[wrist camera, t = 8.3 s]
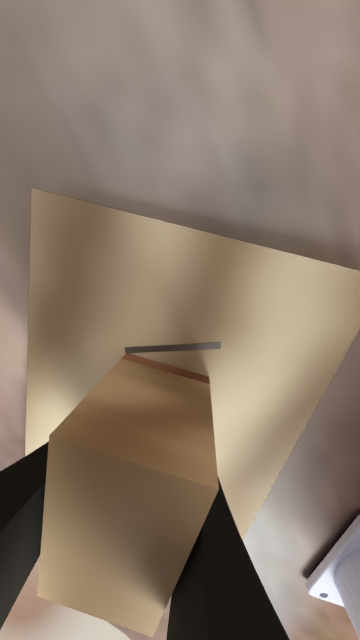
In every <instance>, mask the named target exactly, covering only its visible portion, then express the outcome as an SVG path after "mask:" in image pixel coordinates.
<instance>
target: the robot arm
mask: <svg viewBox="0 0 360 640" xmlns="http://www.w3.org/2000/svg"><path fill="white" fill-rule="evenodd" d="M48 444H49V441H48V442H47V443H45V444H44V445H42V446H41V447H39V448H37V449H36V450H34V451H33V452H31V453H30V454H28V455H27V456H25V457H23V458H22V459H20V460H19V461H17V462H15V463H14V464H12V465H10V466H9V467H7V468H5V469H4V470H2V471H0V629H1V627H2V626H3V624H4V622H5V620H6V618H7V616H8V614H9V612H10V610H11V608H12V606H13V605H14V603H15V601H16V599H17V597H18V595H19V593H20V591H21V589H22V587H23V586H24V584H25V582H26V580H27V578H28V576H29V574H30V572H31V570H32V569H33V567H34V565H35V563H36V561H37V559H38V557H39V556H40V552H41V538H42V525H43V511H44V498H45V485H46V471H47V458H48ZM218 485H219V490H218V492H217V495H216V497H215V499H214V501H213V503H212V506H211V508H210V510H209V512H208V515H207V517H206V519H205V521H204V524H203V526H202V528H201V530H200V532H199V535H198V537H197V539H196V541H195V544H194V546H193V548H192V550H191V552H190V555H189V557H188V559H187V561H186V564H185V566H184V568H183V570H182V573H181V575H180V577H179V579H178V581H177V584H176V586H175V588H174V590H173V593H172V596H171V605H170V614H169V622H168V631H167V640H289V638H288V636H287V634H286V632H285V630H284V628H283V626H282V624H281V622H280V620H279V618H278V616H277V614H276V612H275V610H274V608H273V606H272V604H271V602H270V600H269V598H268V596H267V594H266V591H265V589H264V587H263V585H262V583H261V581H260V579H259V576H258V574H257V572H256V570H255V568H254V566H253V563H252V561H251V559H250V557H249V554H248V552H247V550H246V548H245V545H244V543H243V541H242V538H241V536H240V533H239V531H238V529H237V526H236V524H235V521H234V518H233V516H232V513H231V511H230V508H229V506H228V503H227V500H226V498H225V495H224V492H223V489H222V486H221V483H220V480H219V477H218ZM305 584H306V587H307V590H308V593H309V594H310V595H311V596H313V597H316V598H319V599H322V600H325V601H328V602H331V603H334V604H337V605H340V606H343V607H345V609H346V611H347V613H348V616H349V618H350V620H351V622H352V625H353V627H354V629H355V632H356V634H357V636H358V639H359V640H360V514H359V515H358V516H357V517H356V519H355V520H354V521H353V522H352V524H351V525H350V526H349V527H348V529H347V530H346V531H345V532H344V534H343V535H342V536H341V538H340V539H339V540H338V541H337V543H336V544H335V545H334V546H333V548H332V549H331V550H330V551H329V553H328V554H327V555H326V557H325V558H324V559H323V560H322V562H321V563H320V564H319V565H318V567H317V568H316V569H315V571H314V572H313V573H312V574H311V576H310V577H309V578H308V579H307V581H306V583H305Z"/></svg>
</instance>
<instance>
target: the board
mask: <svg viewBox="0 0 360 640" xmlns="http://www.w3.org/2000/svg"><path fill="white" fill-rule="evenodd" d="M359 330H360V271H359V270H355V269H351V268H347V267H343V266H339V265H335V264H331V263H327V262H323V261H319V260H315V259H311V258H307V257H303V256H299V255H296V254H292V253H288V252H284V251H280V250H276V249H272V248H268V247H264V246H260V245H256V244H252V243H248V242H244V241H240V240H236V239H232V238H228V237H224V236H220V235H216V234H212V233H208V232H204V231H201V230H197V229H193V228H189V227H185V226H181V225H177V224H173V223H169V222H165V221H161V220H157V219H153V218H149V217H145V216H141V215H137V214H133V213H129V212H125V211H121V210H117V209H113V208H109V207H106V206H102V205H98V204H94V203H90V202H86V201H82V200H78V199H74V198H70V197H66V196H62V195H58V194H54V193H50V192H46V191H42V190H38V189H34V188H31V227H30V270H29V312H28V355H27V397H26V440H25V456H27V455H28V454H30V453H31V452H33V451H34V450H36V449H37V448H39V447H41V446H42V445H44V444H45V443H47V442H48V441H49V435H50V434H51V433H52V432H53V431H54V430H55V429H56V428H57V427H58V426H59V424H60V423H61V422H62V421H63V420H64V419H65V418H66V417H67V416H68V415H69V414H70V413H71V412H72V411H73V410H74V408H75V407H76V406H77V405H78V404H79V403H80V402H81V401H82V400H83V399H84V398H85V397H86V396H87V395H88V394H89V393H90V391H91V390H92V389H93V388H94V387H95V386H96V385H97V384H98V383H99V382H100V381H101V380H102V379H103V378H104V377H105V375H106V374H107V373H108V372H109V371H110V370H111V369H112V368H113V367H114V366H115V365H116V364H117V363H118V362H119V361H120V360H121V358H122V357H123V356H124V355H125V354H126V353H129V354H133V355H136V356H139V357H143V358H146V359H150V360H153V361H157V362H160V363H163V364H167V365H170V366H174V367H177V368H181V369H184V370H187V371H191V372H194V373H198V374H201V375H205V376H208V377H209V380H210V391H211V403H212V415H213V426H214V438H215V450H216V462H217V473H218V477H219V480H220V483H221V486H222V489H223V492H224V495H225V498H226V500H227V503H228V506H229V508H230V511H231V513H232V516H233V518H234V521H235V524H236V526H237V529H238V531H239V533H240V536H241V538H242V540H243V538H244V536H245V535H246V533H247V531H248V529H249V527H250V526H251V524H252V522H253V520H254V518H255V517H256V515H257V513H258V511H259V509H260V508H261V506H262V504H263V502H264V500H265V499H266V497H267V495H268V493H269V491H270V490H271V488H272V486H273V484H274V482H275V481H276V479H277V477H278V475H279V473H280V472H281V470H282V468H283V466H284V464H285V463H286V461H287V459H288V457H289V455H290V454H291V452H292V450H293V448H294V446H295V445H296V443H297V441H298V439H299V437H300V436H301V434H302V432H303V430H304V428H305V427H306V425H307V423H308V421H309V419H310V418H311V416H312V414H313V412H314V410H315V409H316V407H317V405H318V403H319V401H320V400H321V398H322V396H323V394H324V392H325V391H326V389H327V387H328V385H329V383H330V382H331V380H332V378H333V376H334V374H335V373H336V371H337V369H338V367H339V365H340V364H341V362H342V360H343V358H344V356H345V355H346V353H347V351H348V349H349V347H350V346H351V344H352V342H353V340H354V338H355V337H356V335H357V333H358V331H359Z"/></svg>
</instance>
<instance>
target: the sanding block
mask: <svg viewBox="0 0 360 640" xmlns="http://www.w3.org/2000/svg"><path fill="white" fill-rule="evenodd" d="M218 490H219V485H218V473H217V462H216V450H215V438H214V426H213V415H212V403H211V391H210V380H209V377H208V376H205V375H201V374H198V373H194V372H191V371H187V370H184V369H181V368H177V367H174V366H170V365H167V364H163V363H160V362H157V361H153V360H150V359H146V358H143V357H139V356H136V355H133V354H129V353H126V354H125V355H124V356H123V357H122V358H121V360H120V361H119V362H118V363H117V364H116V365H115V366H114V367H113V368H112V369H111V370H110V371H109V372H108V373H107V374H106V375H105V377H104V378H103V379H102V380H101V381H100V382H99V383H98V384H97V385H96V386H95V387H94V388H93V389H92V390H91V391H90V393H89V394H88V395H87V396H86V397H85V398H84V399H83V400H82V401H81V402H80V403H79V404H78V405H77V406H76V407H75V408H74V410H73V411H72V412H71V413H70V414H69V415H68V416H67V417H66V418H65V419H64V420H63V421H62V422H61V423H60V424H59V426H58V427H57V428H56V429H55V430H54V431H53V432H52V433H51V434H50V435H49V444H48V458H47V471H46V485H45V498H44V511H43V525H42V538H41V552H40V565H39V579H38V592H37V596H39V597H41V598H44V599H47V600H50V601H52V602H55V603H58V604H61V605H64V606H66V607H69V608H72V609H75V610H78V611H80V612H83V613H86V614H89V615H92V616H94V617H97V618H100V619H103V620H105V621H108V622H111V623H114V624H117V625H119V626H122V627H125V628H128V629H131V630H133V631H136V632H139V633H142V634H145V635H147V636H150V637H153V635H154V633H155V630H156V628H157V626H158V624H159V622H160V619H161V617H162V615H163V613H164V610H165V608H166V606H167V604H168V601H169V599H170V597H171V595H172V593H173V590H174V588H175V586H176V584H177V581H178V579H179V577H180V575H181V573H182V570H183V568H184V566H185V564H186V561H187V559H188V557H189V555H190V552H191V550H192V548H193V546H194V544H195V541H196V539H197V537H198V535H199V532H200V530H201V528H202V526H203V524H204V521H205V519H206V517H207V515H208V512H209V510H210V508H211V506H212V503H213V501H214V499H215V497H216V495H217V492H218Z"/></svg>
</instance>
